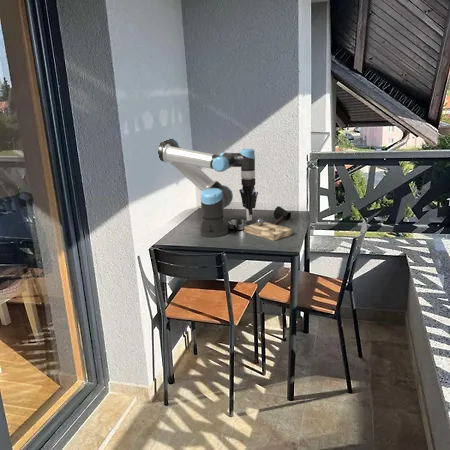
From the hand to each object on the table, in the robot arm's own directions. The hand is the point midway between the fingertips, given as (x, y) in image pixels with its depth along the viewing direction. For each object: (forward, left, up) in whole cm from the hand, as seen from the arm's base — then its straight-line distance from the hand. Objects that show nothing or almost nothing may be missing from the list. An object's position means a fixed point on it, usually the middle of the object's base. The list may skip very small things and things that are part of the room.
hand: (249, 220), depth 243 cm
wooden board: (0, -14, -5) cm, 15 cm away
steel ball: (0, -8, 0) cm, 9 cm away
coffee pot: (+21, -1, -5) cm, 22 cm away
